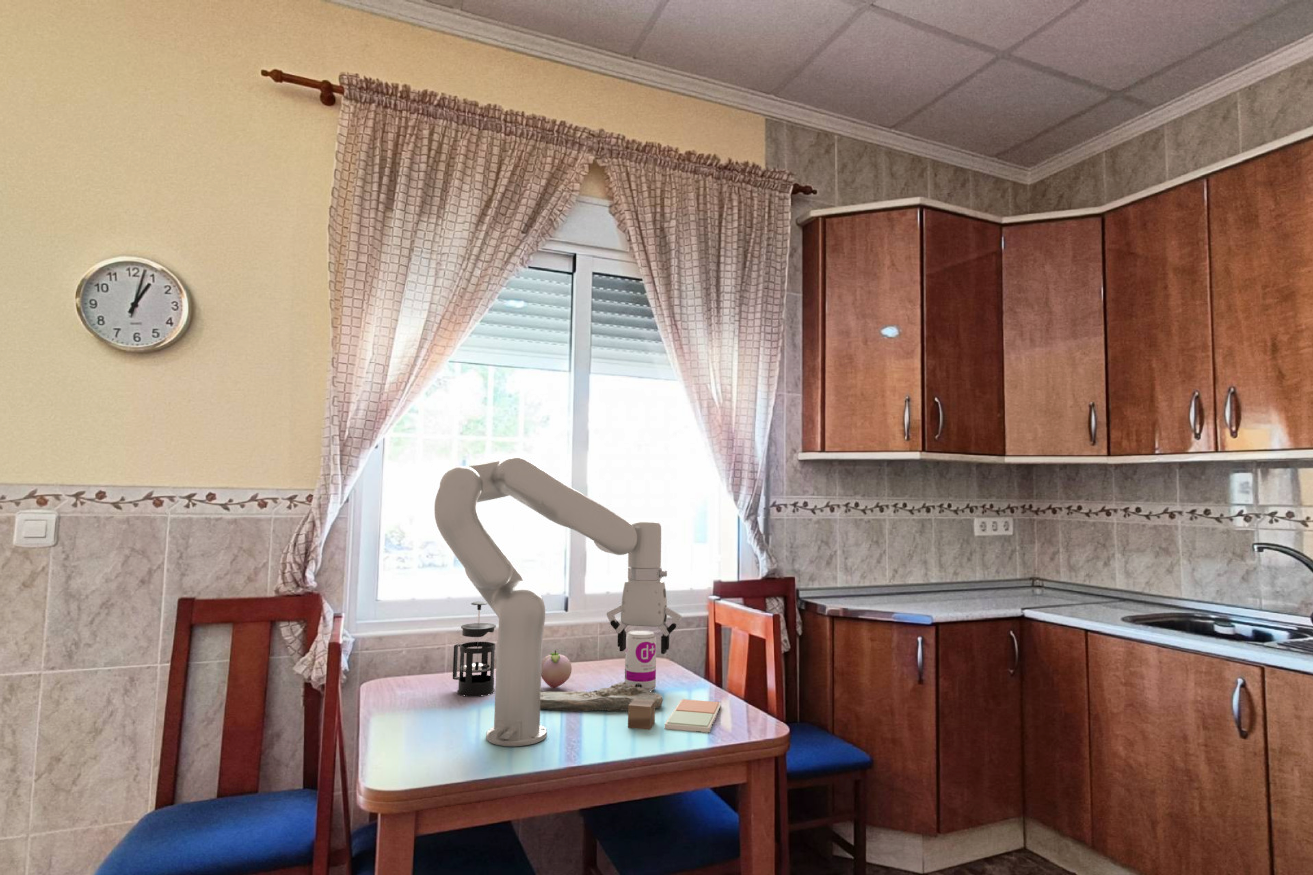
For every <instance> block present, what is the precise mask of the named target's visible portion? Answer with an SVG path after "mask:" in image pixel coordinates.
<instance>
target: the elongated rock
mask: <svg viewBox="0 0 1313 875" xmlns="http://www.w3.org/2000/svg"><path fill="white" fill-rule="evenodd" d="M634 699H639V700H652V701H655V709H658V708H661V707H662V706H663V701H664V699H663V696H662V695H661V694H659V693H656V692H653V691H651V692H650V691H648V690H646V689H645V688H641V687H635V686H634V685H626V683H625V681H624V682H622V681H620V682H618V683H615V684H612V685H610V687H602V688H600V689H598V690H597V689H596V690H590V691H585V690H584V691H582V690H579V691H578V690H577V691H576V690H575V691H541V699H540V710H549V711H573V712H577V711H578V712H591V711H593V712H594V711H606V712H607V711H608V712H621V711H627V712H628V705H629V704H630V703H631V702H632V701H633V700H634Z"/></svg>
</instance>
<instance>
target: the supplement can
mask: <svg viewBox="0 0 1313 875" xmlns="http://www.w3.org/2000/svg"><path fill="white" fill-rule="evenodd" d="M624 654H625V655H624V656H625V657H624V658H625V659H624V660H625V661H624V663H625V664H624V682H625V683H626V685H634V686H635V687H641V688H645V689H646V690H648V691H652V690H653V691H654V690H655V689H656V688H657V686H656V683H657V682H656V681H657V680H656V677H657V675H656V674H657V637H656V635H655V632H654V631H651V630H648V629H647V630H644V629H643V630H642V629H638V630H637V629H636V630H631V631H628V632H627V634H626V649H625V653H624ZM653 691H652V692H653Z"/></svg>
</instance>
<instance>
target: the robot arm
mask: <svg viewBox="0 0 1313 875" xmlns="http://www.w3.org/2000/svg"><path fill="white" fill-rule="evenodd" d="M508 496H510V497H512V498H513V499H515V500H516V501H518V502H520V503H521V504H523V505H524V506H526V507H528V508H530V509H531V510H534V512H536V513H538V514H539V515H541V516H542V517H545V518H546V519H548V520H549V521H552V522H553V523H555V524H557V525H560V526H562V527H566V528H568V529H571V530H573V531H575V532H577V533H579V534H581V535H583V536H585V537H586V538H588V539H590V540H592V541H593V542H594V544H595V546H596V547H597V549H599V551H600V550H601V551H602V552H605V553H608V554H612V555H617V556H624V555H627V554H628V555H627V558H628V560H627V566H628V567H627V579H626V580H625V581H624V584H623V590H622V597H621V604H620V606H617V607H615V608H613V609H611V610H609V611H608V612H606V616H607V618H608V621H609V623H610V626H611V627H612V628H613V629H614V630H615V632H616V633H617V647H619V652H624V650H625V649H626V637H627V632H626V630H625V629H626V628H627V627H628V626H631V627H632V626H633V627H634V626H635V627H647V628H648V627H649V628H651V627H653V628H655V627H656V628H657V627H658V629H659V630H660V632H661V633H662V635H661V637H660V654H661V655H665V654H667V651H668V650H670V634H671V633H672V632H673V631H674V630H676V629H677V627H678V626H679V624H680V621H681V619H682V615H681V614H679V613H678V612H676V611H674V610H673V609H671V608H670V607H668V604H667V591H666V583H665V581H663V580H662V578H664V577H665V578H667V576H668V571H667V570H663V569H662V526H661V524H660V522H658V521H656V520H635V521H629V520H627V519H625V518H623V517H621V515H618V514H616V513H615V512H613V511H612V510H610V509H609V508H607V507H605V506H604V505H601V504H600V503H599V502H597V501H594V500H593V499H592V498H590V497H588V496H586V495H584V494H583V493H582V492H580V491H578V490H576V489H574V488H573V487H571V486H570V485H568V484H566V482H565V483H564V482H563V481H561V480H559V479H558V478H557V477H555V476H553V475H552V474H551V473H549V472H547V471H546V470H545V469H542V468H541V467H539V466H538V465H536V464H534V463H533V462H531V461H529V460H527V459H525V458H524V457H521V456H509V457H506V458H503V459H500V460H495V461H490V462H486V463H479V464H474V465H468V466H467V465H459V466H455V467H453V468H451V469H449V470H447V472H446V473H444V474H443V475H442V477H441V479H440V483H439V487H438V490H437V494H436V496H435V500H434V519H435V523H436V526H437V528H438V531H439V533H440V536H442V538H443V540H444V541H445V543H446V544H447V546H448V547H449V548H450V550H451V551H452V553H453V554H454V556H455V557H456V559H458V561H459V562H460V564H461V565H462V567H463V568H464V570H465V574H466V576H467V578H468V579H469V581H470V582H471V583H472V585H473V586H474V587H475V589H476V590H477V591H478V593H479V594H480V595H481V597H482V598H483V600H485V602H486V603H488V604H487V605H488V606H489V608H491V609H492V611H493V613H494V614H496V617H498V630H497V631H498V632H497V642H496V657H495V661H496V662H495V663H496V664H495V665H496V666H495V686H494V690H495V691H494V693H495V694H494V718H493V726H492V727H491V728H489V729H488V730H487V731H486V734H485V737H486V740H487V742H488V743H490V744H493V745H497V746H501V747H502V746H503V747H523V746H524V747H525V746H529V745H530V746H531V745H533V744H534V745H535V744H537V743H539V742H542V741H544V739H546V738H547V735H548V730H547V728H546V727H545V726H543V725H541V724H540V723H541V709H540V699H541V692H542V677H541V668H542V660H543V657H542V655H543V637H544V629H545V628H544V627H545V622H546V605H545V601H544V599H543V597H542V595H541V594H540V592H539V591H538V590H536V588H533V587H532V586H531V585H529V583H528V582H527V581H526V580H525V579H524V578H523V576H522V574H521V573H520V572H519V570H518V569H517V568H516V567H515V565H514V564H513V561H512V558H511V556H510V555H509V553H508V552H507V551H506V550H505V549H504V548H503V547H502V546H501V544H500V543H499V542H498V540H496V538H495V537H494V535H493V534H492V533H491V531H490V530H489V529H488V527H487V525H486V523H484V521H483V520H482V518H481V517H480V515H479V512H478V508H477V507H478V506H477V504H478V503H480V502H486V501H491V500H495V499H496V500H497V499H501V498H505V497H508ZM619 613H620V621H621V623H620V622H619V621H618V620H617V619H616V615H617V614H619ZM668 617H670V618H672V620H673V621H672V623H671V624H670V625H669V626H668V624H667V623H666V622H667V620H668Z"/></svg>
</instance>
